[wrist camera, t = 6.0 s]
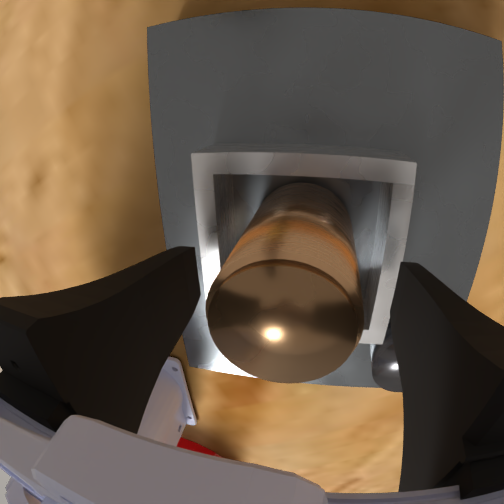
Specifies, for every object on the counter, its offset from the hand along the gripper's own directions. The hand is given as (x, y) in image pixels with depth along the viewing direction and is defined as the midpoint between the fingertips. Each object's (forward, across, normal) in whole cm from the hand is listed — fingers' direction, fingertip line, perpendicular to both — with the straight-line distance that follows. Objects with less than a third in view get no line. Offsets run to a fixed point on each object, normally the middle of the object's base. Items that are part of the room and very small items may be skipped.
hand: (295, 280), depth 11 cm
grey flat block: (+6, -1, 0) cm, 7 cm away
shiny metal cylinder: (+4, 0, 0) cm, 4 cm away
